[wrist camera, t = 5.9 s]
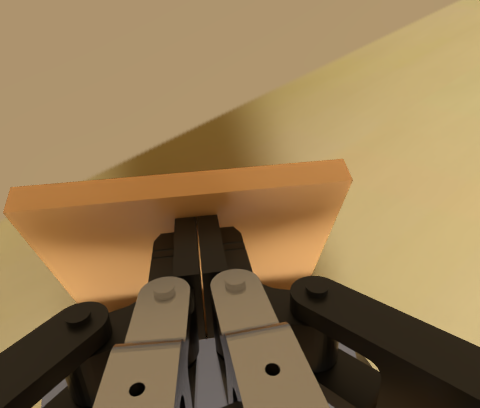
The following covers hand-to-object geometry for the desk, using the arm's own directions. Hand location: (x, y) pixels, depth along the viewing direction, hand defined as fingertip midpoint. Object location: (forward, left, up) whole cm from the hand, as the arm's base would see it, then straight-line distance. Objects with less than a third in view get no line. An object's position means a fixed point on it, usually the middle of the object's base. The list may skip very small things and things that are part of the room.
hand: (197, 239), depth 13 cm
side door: (-1, -2, -12) cm, 12 cm away
